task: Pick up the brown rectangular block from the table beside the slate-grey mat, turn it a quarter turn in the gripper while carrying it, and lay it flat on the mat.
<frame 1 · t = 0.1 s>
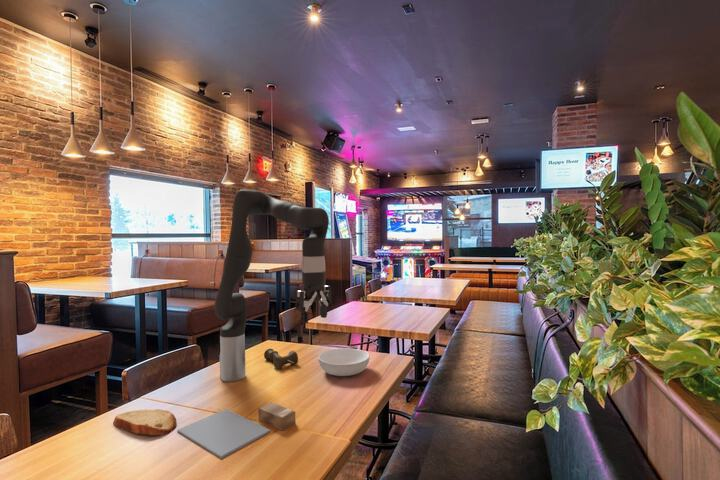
hand: (314, 320, 125), 29 cm above the table, tool pointing down, fingers open, 8 cm apart
slate mat: (223, 431, 112), on the table
brown rectangular block: (276, 422, 118), on the table
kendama: (280, 365, 167), on the table
bread slice: (144, 427, 117), on the table
serving bowl: (344, 372, 158), on the table
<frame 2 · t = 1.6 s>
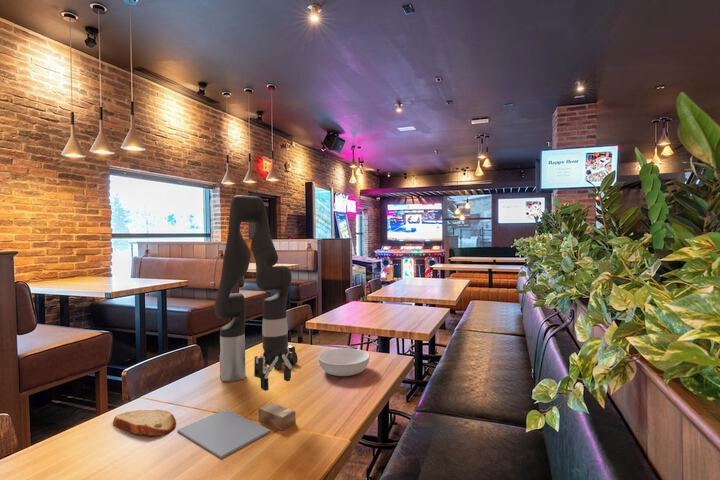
hand: (276, 385, 117), 11 cm above the table, tool pointing down, fingers open, 8 cm apart
nothing on the table moved.
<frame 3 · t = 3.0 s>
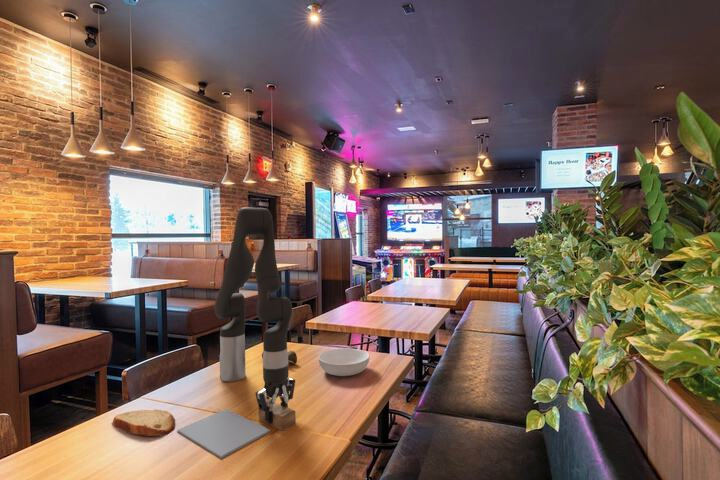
hand: (276, 418, 118), 1 cm above the table, tool pointing down, fingers closed on brown rectangular block, 5 cm apart
brown rectangular block: (277, 421, 118), on the table, touching gripper
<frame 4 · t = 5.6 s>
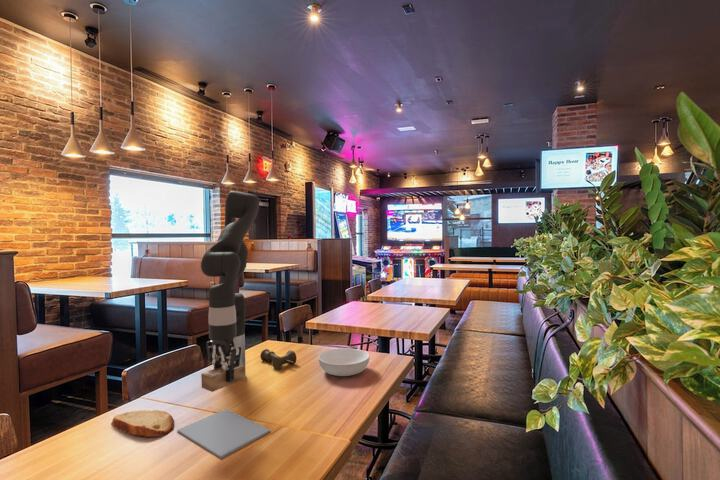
hand: (224, 379, 112), 15 cm above the table, tool pointing down, fingers closed on brown rectangular block, 5 cm apart
brown rectangular block: (224, 383, 112), point 14 cm above the table, touching gripper
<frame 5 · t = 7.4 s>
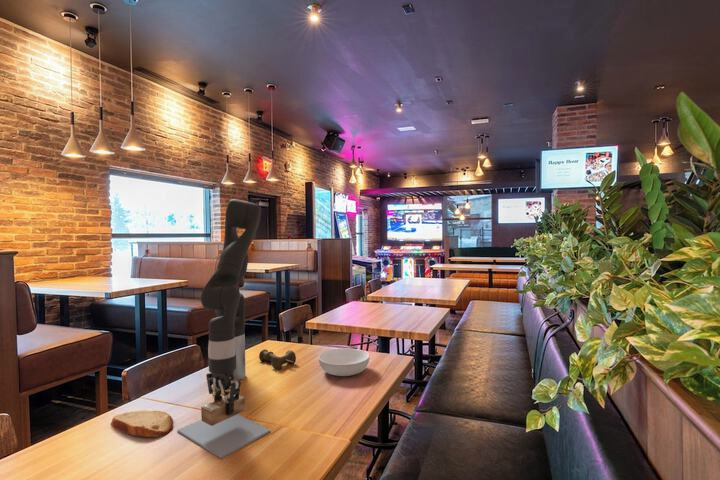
hand: (224, 411, 112), 6 cm above the table, tool pointing down, fingers closed on brown rectangular block, 5 cm apart
brown rectangular block: (224, 415, 112), point 5 cm above the table, touching gripper
when the fingers open (3 cm above the table, at t = 8.5 s): brown rectangular block drops 1 cm, resting on slate mat.
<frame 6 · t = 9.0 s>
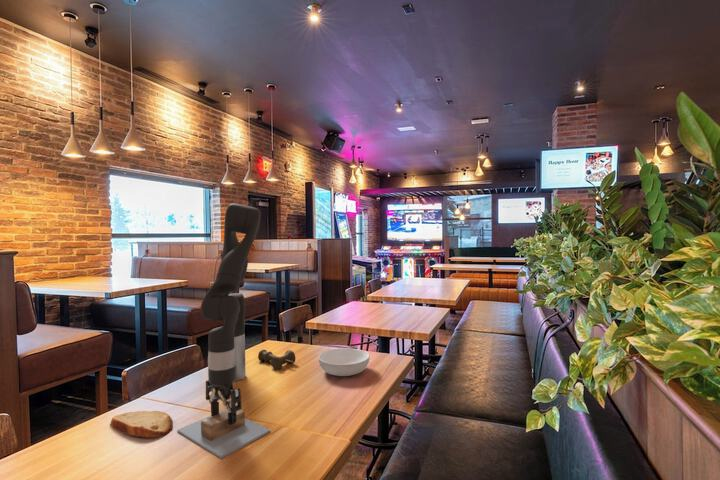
hand: (223, 419, 112), 4 cm above the table, tool pointing down, fingers open, 8 cm apart
brown rectangular block: (223, 429, 112), point 1 cm above the table, touching slate mat
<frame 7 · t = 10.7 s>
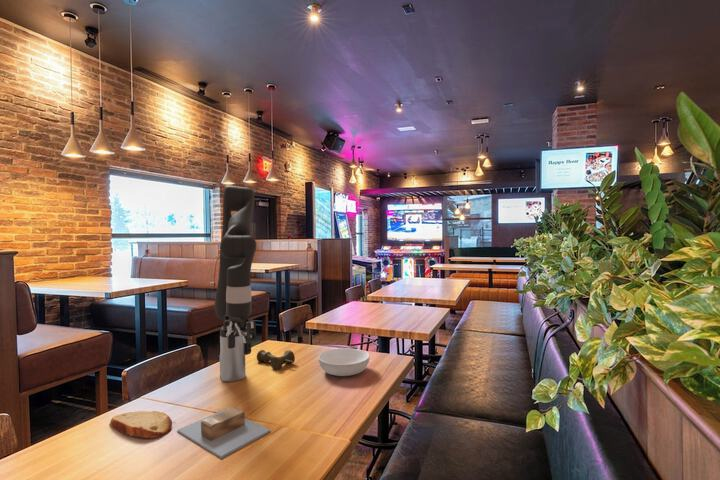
hand: (239, 350, 121), 21 cm above the table, tool pointing down, fingers open, 8 cm apart
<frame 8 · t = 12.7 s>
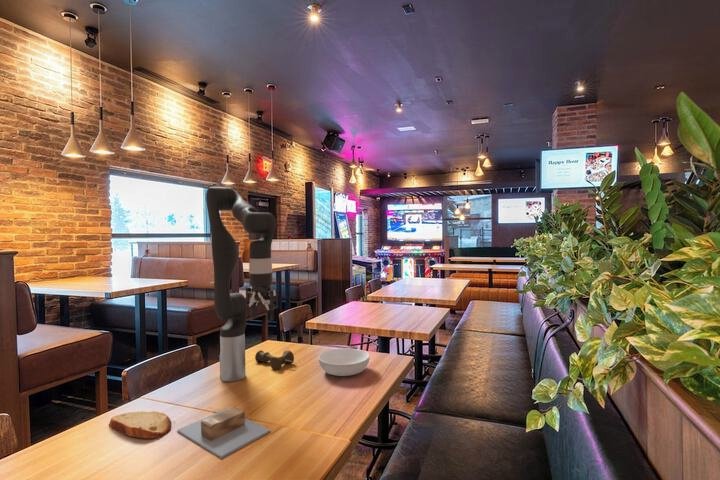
hand: (261, 318, 132), 28 cm above the table, tool pointing down, fingers open, 8 cm apart
at the end: brown rectangular block inside the target area on the slate mat (0.0 cm from its centre), point 0.6 cm above the slate mat's base; brown rectangular block tilted 0°; the gripper is holding nothing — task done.
